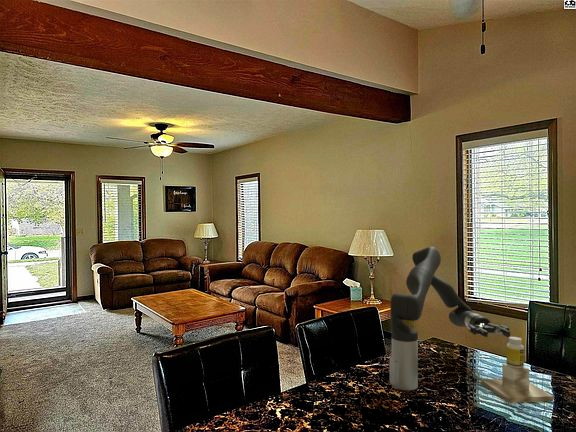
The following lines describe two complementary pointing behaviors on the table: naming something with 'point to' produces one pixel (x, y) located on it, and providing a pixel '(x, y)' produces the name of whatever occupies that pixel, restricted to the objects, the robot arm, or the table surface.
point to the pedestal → (516, 386)
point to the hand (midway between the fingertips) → (497, 334)
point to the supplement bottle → (515, 353)
